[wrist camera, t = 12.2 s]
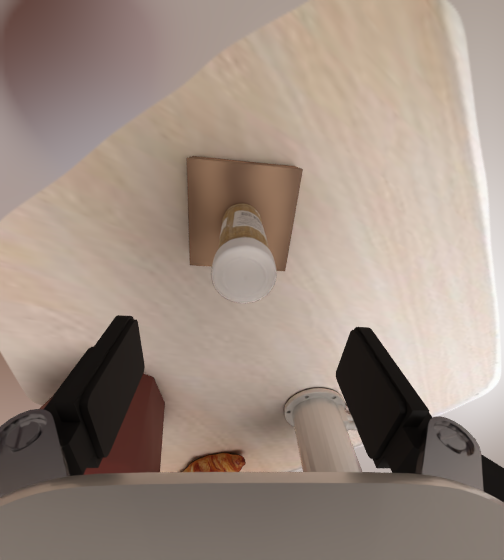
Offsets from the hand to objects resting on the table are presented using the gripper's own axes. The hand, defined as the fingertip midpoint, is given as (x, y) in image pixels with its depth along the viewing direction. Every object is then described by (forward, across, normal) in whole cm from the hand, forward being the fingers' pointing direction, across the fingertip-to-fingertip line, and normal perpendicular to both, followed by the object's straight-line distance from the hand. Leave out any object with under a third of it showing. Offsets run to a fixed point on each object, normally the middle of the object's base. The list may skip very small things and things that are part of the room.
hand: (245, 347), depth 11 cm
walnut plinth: (+24, 0, 0) cm, 24 cm away
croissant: (+25, +4, +62) cm, 67 cm away
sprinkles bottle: (+20, 0, 0) cm, 20 cm away
